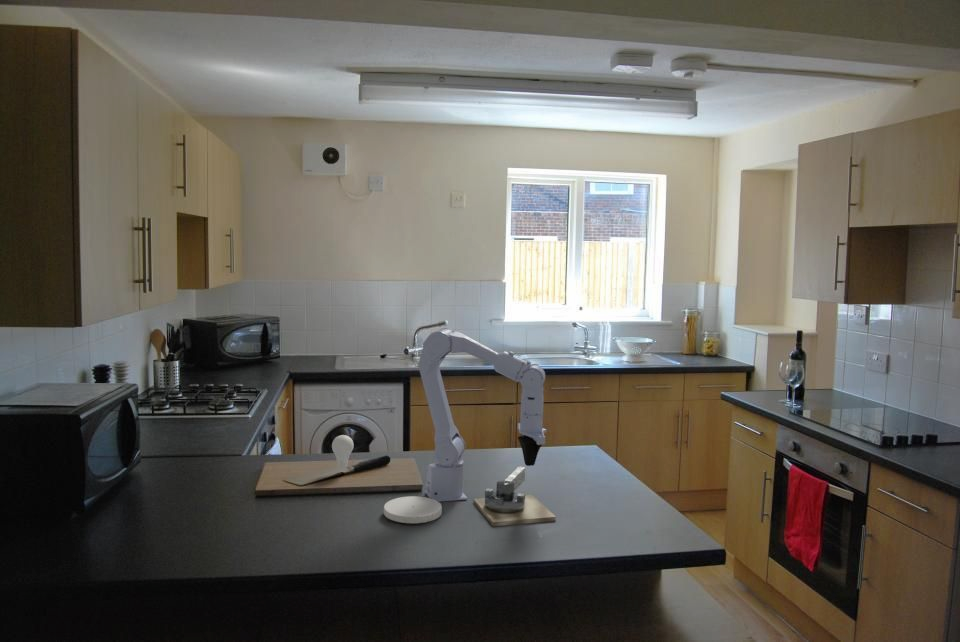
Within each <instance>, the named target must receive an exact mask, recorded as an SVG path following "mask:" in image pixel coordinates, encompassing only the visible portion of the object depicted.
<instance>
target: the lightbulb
mask: <svg viewBox="0 0 960 642" xmlns="http://www.w3.org/2000/svg"><path fill="white" fill-rule="evenodd" d="M331 443H332V444H331V448H332V449H331V450H332V453H333V454H334V456H335V459H336V464H337V469H338V468H346V467H347V468H348V464H349V458H350V456H351V455H352V452H353V450H354V445H355V444H354V440H353V439H352V438H351V437H350V436H349V435H345V434H341V435H338V436H336V437H335V438H334V439H333V440H332V442H331Z"/></svg>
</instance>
